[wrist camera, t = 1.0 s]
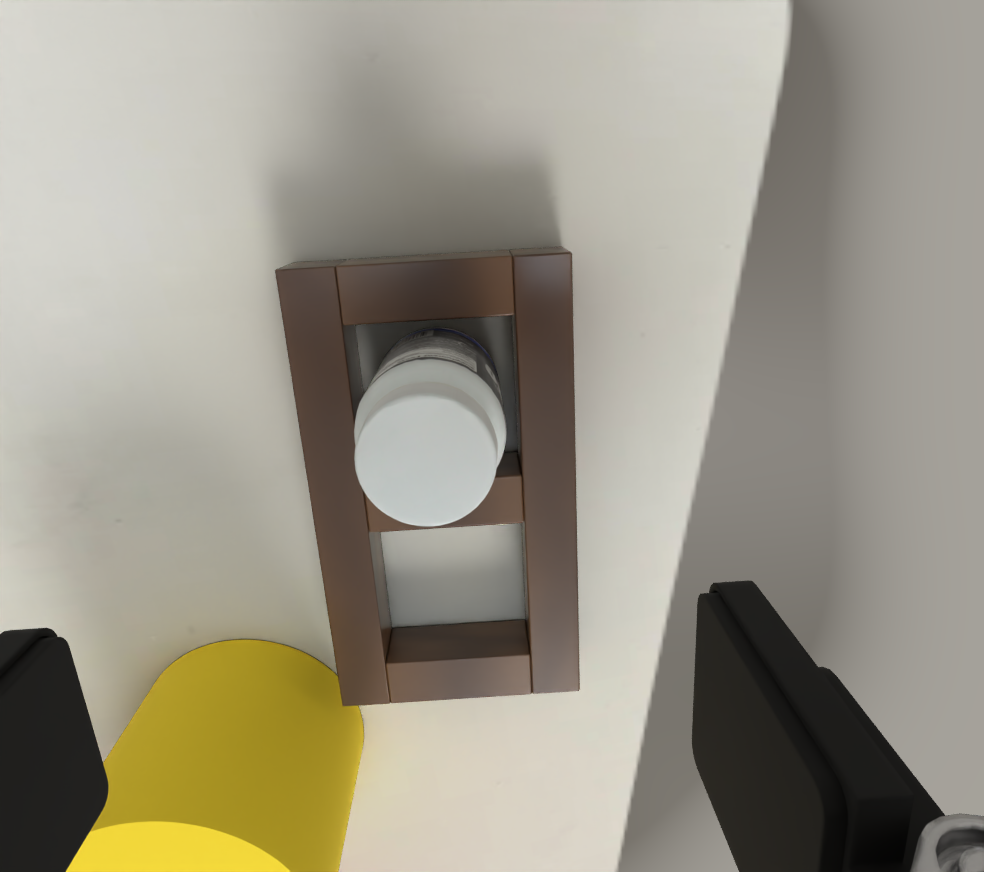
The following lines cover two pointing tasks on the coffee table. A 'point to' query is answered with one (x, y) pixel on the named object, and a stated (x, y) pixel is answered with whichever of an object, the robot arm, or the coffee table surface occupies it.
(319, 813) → the yellow toilet paper roll
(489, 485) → the pill bottle
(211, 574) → the coffee table surface
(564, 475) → the holder
